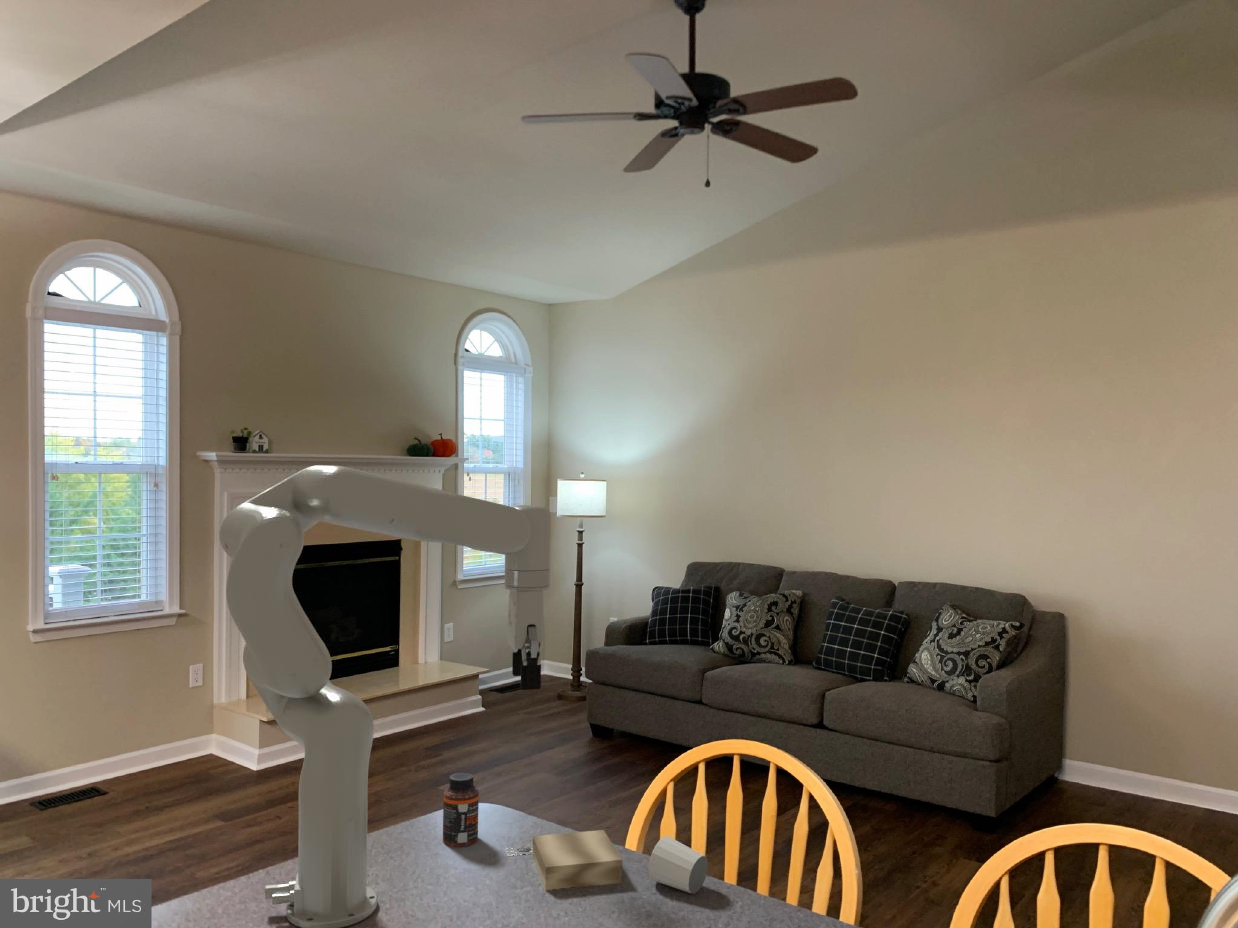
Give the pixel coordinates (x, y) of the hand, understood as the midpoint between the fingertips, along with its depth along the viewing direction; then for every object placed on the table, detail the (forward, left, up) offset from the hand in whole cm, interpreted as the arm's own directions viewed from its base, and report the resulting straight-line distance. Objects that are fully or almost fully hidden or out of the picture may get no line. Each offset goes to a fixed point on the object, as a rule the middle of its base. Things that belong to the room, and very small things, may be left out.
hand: (526, 681), depth 157 cm
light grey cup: (+24, -21, -26) cm, 41 cm away
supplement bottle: (-10, +6, -28) cm, 31 cm away
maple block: (+7, -9, -29) cm, 31 cm away
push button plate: (0, 0, -28) cm, 28 cm away
